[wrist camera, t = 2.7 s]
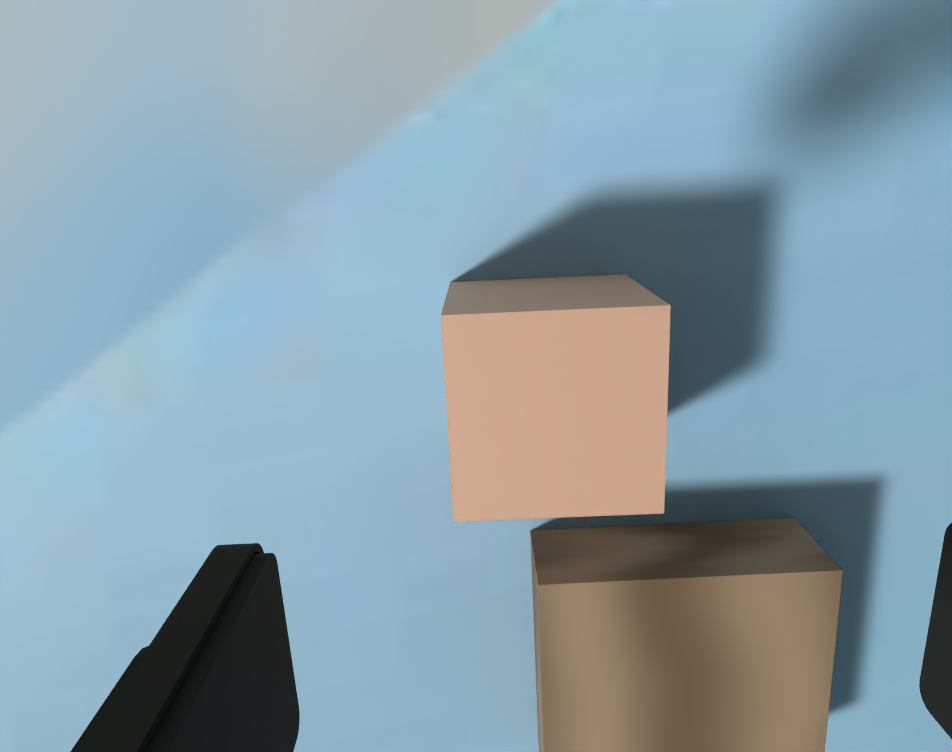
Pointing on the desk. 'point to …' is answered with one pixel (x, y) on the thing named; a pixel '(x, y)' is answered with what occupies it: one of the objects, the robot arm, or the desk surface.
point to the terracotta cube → (556, 397)
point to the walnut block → (684, 637)
